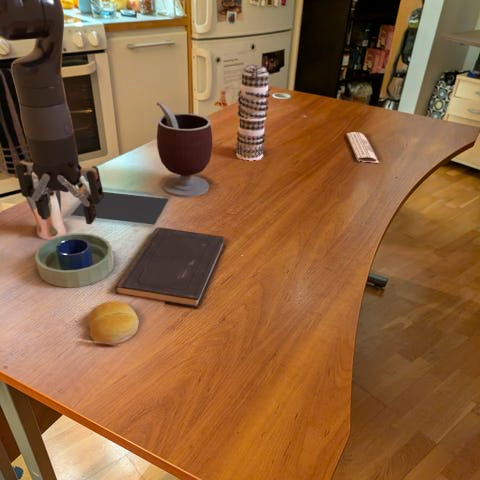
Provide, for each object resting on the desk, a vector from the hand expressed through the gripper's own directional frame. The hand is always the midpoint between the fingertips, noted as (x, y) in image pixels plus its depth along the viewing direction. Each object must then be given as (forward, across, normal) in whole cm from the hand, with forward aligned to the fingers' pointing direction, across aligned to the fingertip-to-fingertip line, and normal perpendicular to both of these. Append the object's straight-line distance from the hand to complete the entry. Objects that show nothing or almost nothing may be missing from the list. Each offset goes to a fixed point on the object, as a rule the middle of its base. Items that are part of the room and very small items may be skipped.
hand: (68, 220), depth 85 cm
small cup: (+10, 0, 0) cm, 10 cm away
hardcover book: (+11, -19, -4) cm, 22 cm away
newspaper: (+11, -63, -86) cm, 107 cm away
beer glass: (+11, +11, -12) cm, 19 cm away
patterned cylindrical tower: (+11, -27, -70) cm, 76 cm away
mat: (+11, 0, -26) cm, 28 cm away
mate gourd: (+11, -12, -43) cm, 46 cm away
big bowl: (+11, 0, 0) cm, 11 cm away
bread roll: (+11, -13, +16) cm, 23 cm away
